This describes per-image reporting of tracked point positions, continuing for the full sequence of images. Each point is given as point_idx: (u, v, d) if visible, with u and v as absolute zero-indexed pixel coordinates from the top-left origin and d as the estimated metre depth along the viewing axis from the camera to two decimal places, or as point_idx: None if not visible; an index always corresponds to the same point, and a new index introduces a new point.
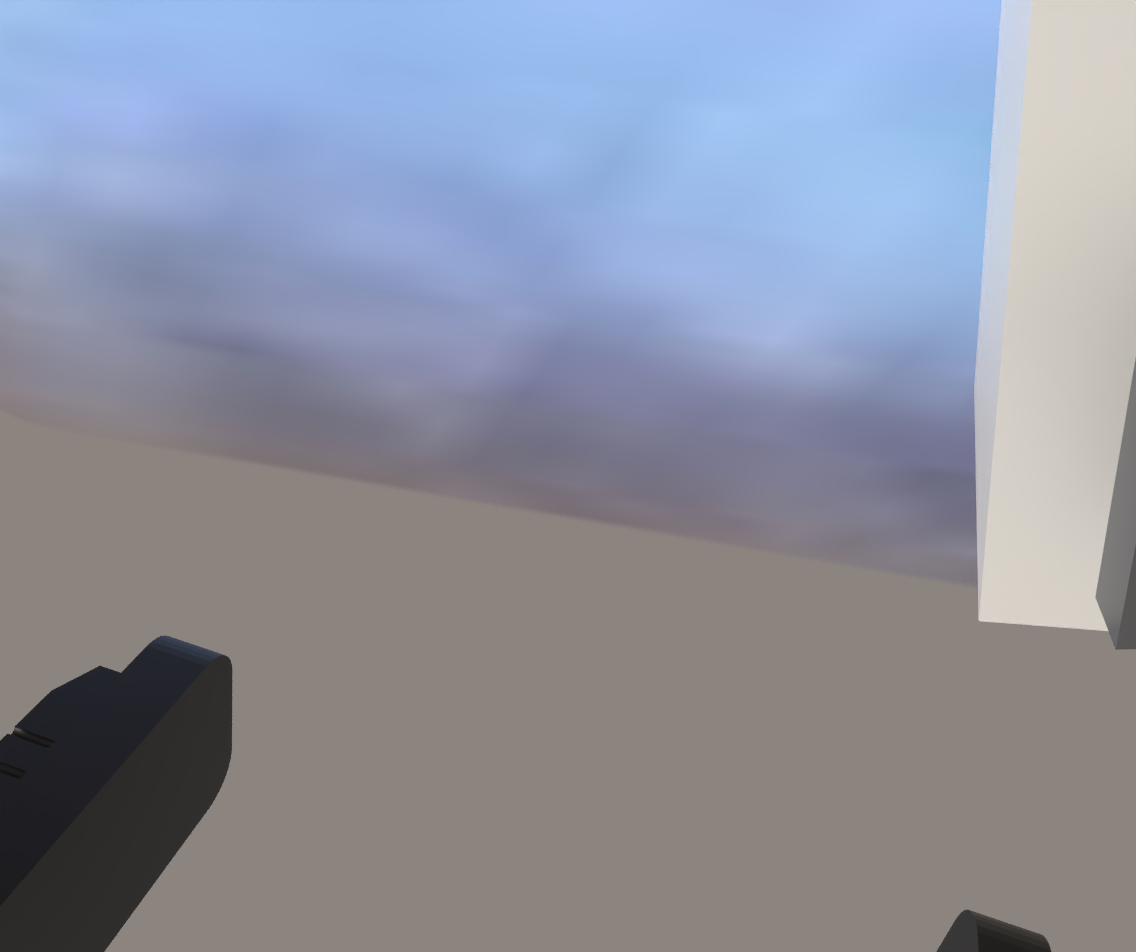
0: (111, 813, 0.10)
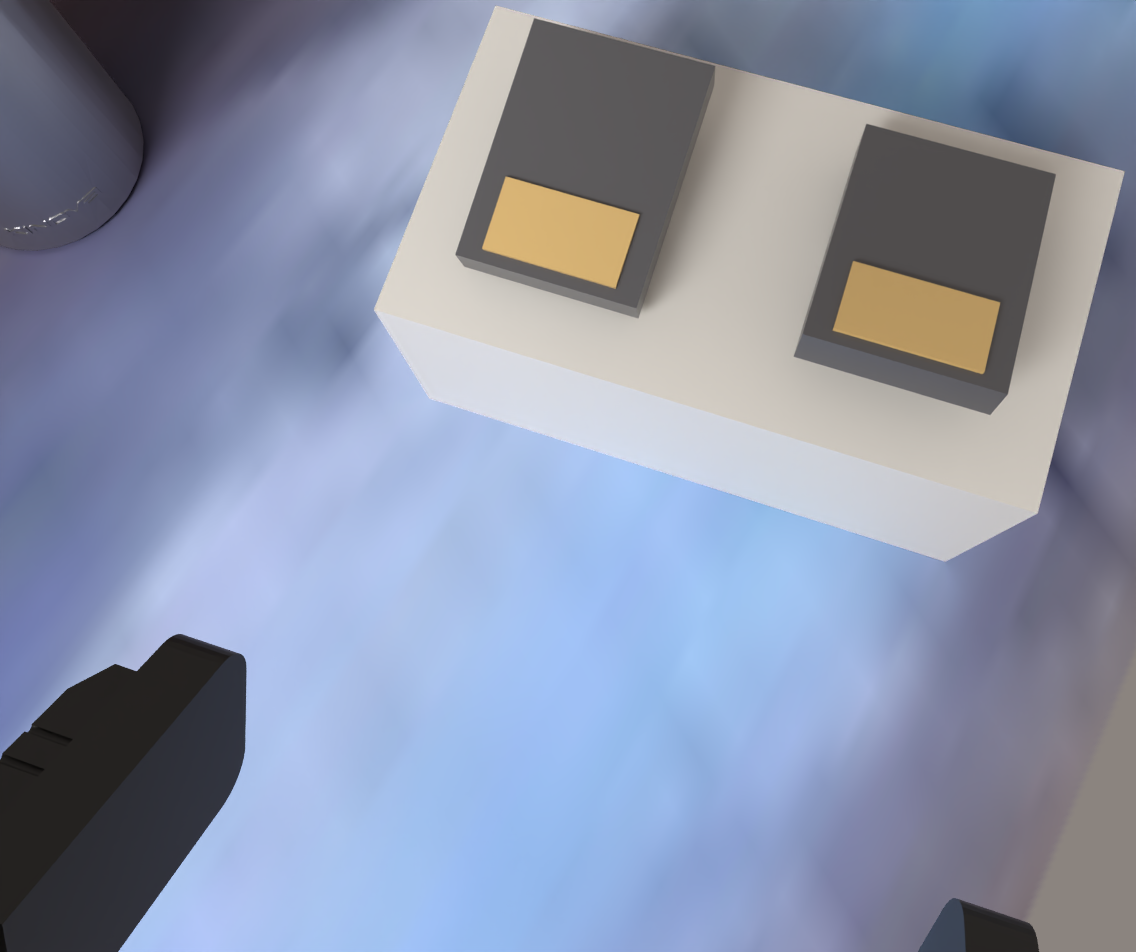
0: (128, 811, 0.10)
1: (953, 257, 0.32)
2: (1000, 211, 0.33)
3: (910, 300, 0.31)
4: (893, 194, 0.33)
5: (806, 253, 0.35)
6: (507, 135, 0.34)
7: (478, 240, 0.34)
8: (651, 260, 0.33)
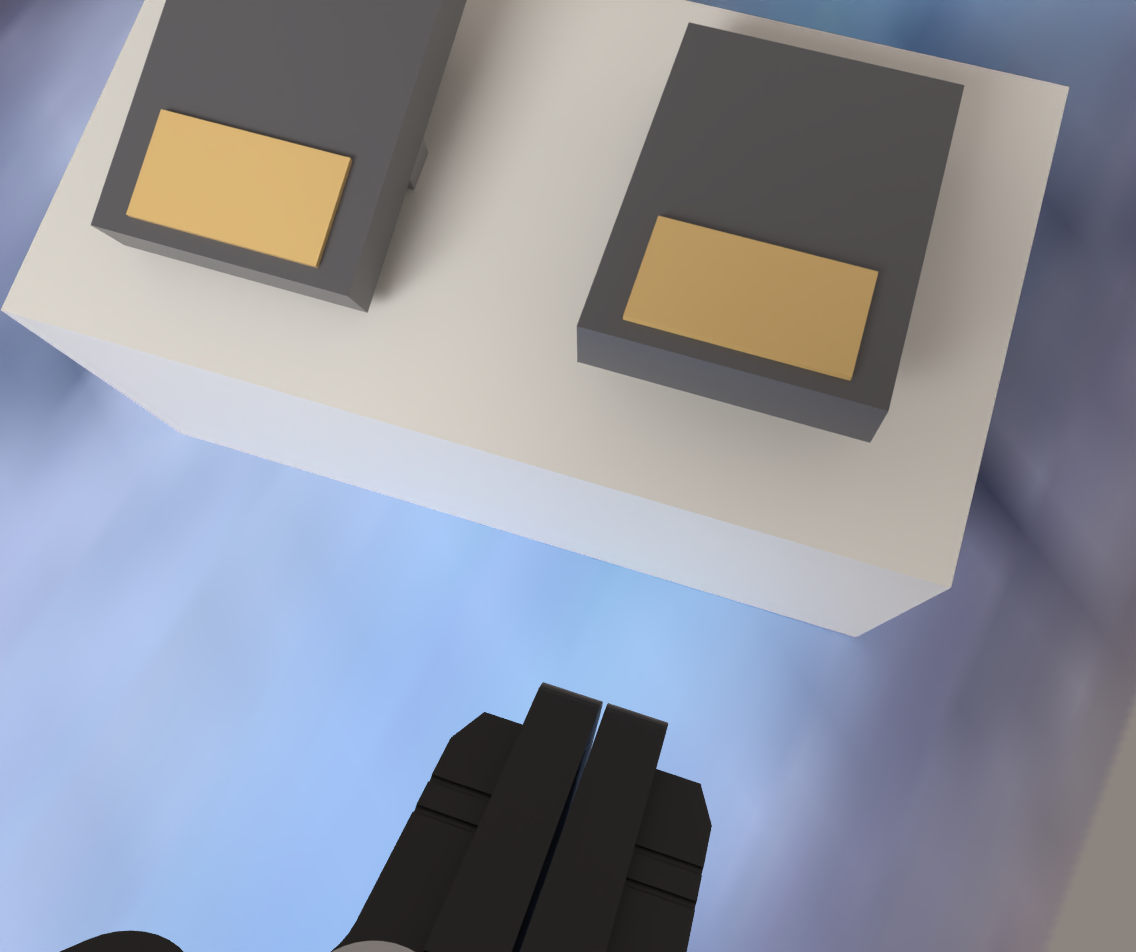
0: (547, 859, 0.10)
1: (810, 207, 0.21)
2: (881, 139, 0.22)
3: (741, 271, 0.21)
4: (723, 120, 0.22)
5: (615, 215, 0.24)
6: (166, 51, 0.23)
7: (123, 203, 0.23)
8: (369, 225, 0.22)
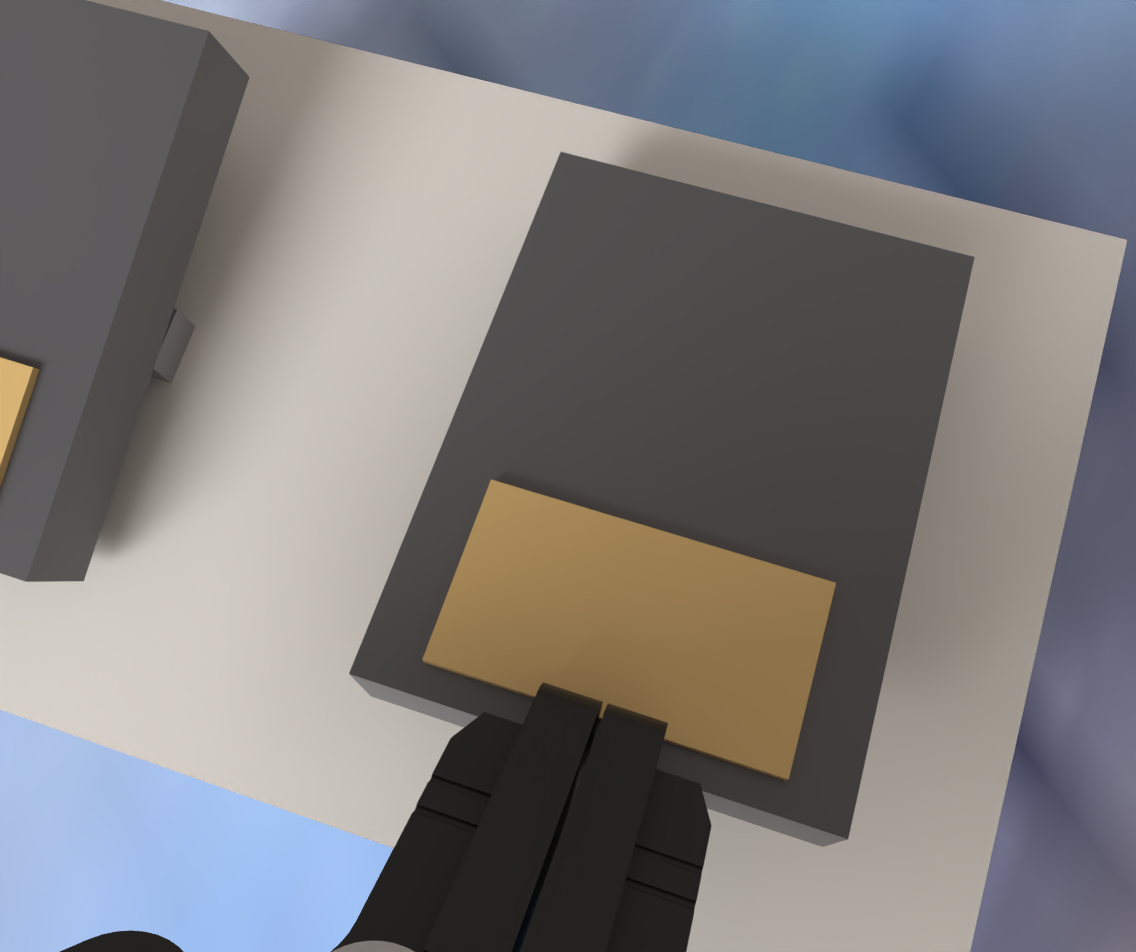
0: (547, 859, 0.10)
1: (731, 463, 0.14)
2: (846, 347, 0.14)
3: (617, 581, 0.13)
4: (604, 312, 0.15)
5: None
6: None
7: None
8: (62, 470, 0.15)
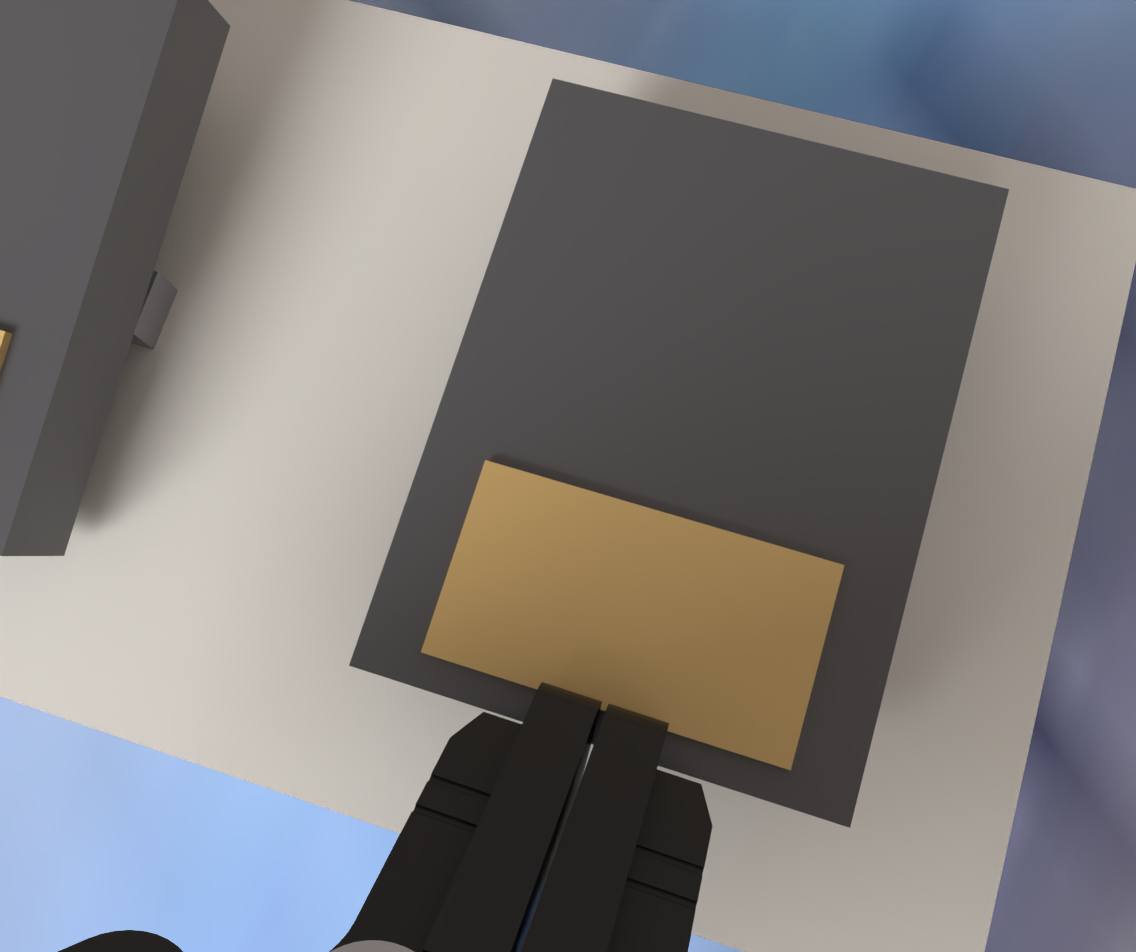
0: (546, 860, 0.10)
1: (737, 435, 0.13)
2: (863, 300, 0.13)
3: (617, 567, 0.13)
4: (602, 267, 0.14)
5: None
6: None
7: None
8: (38, 439, 0.14)
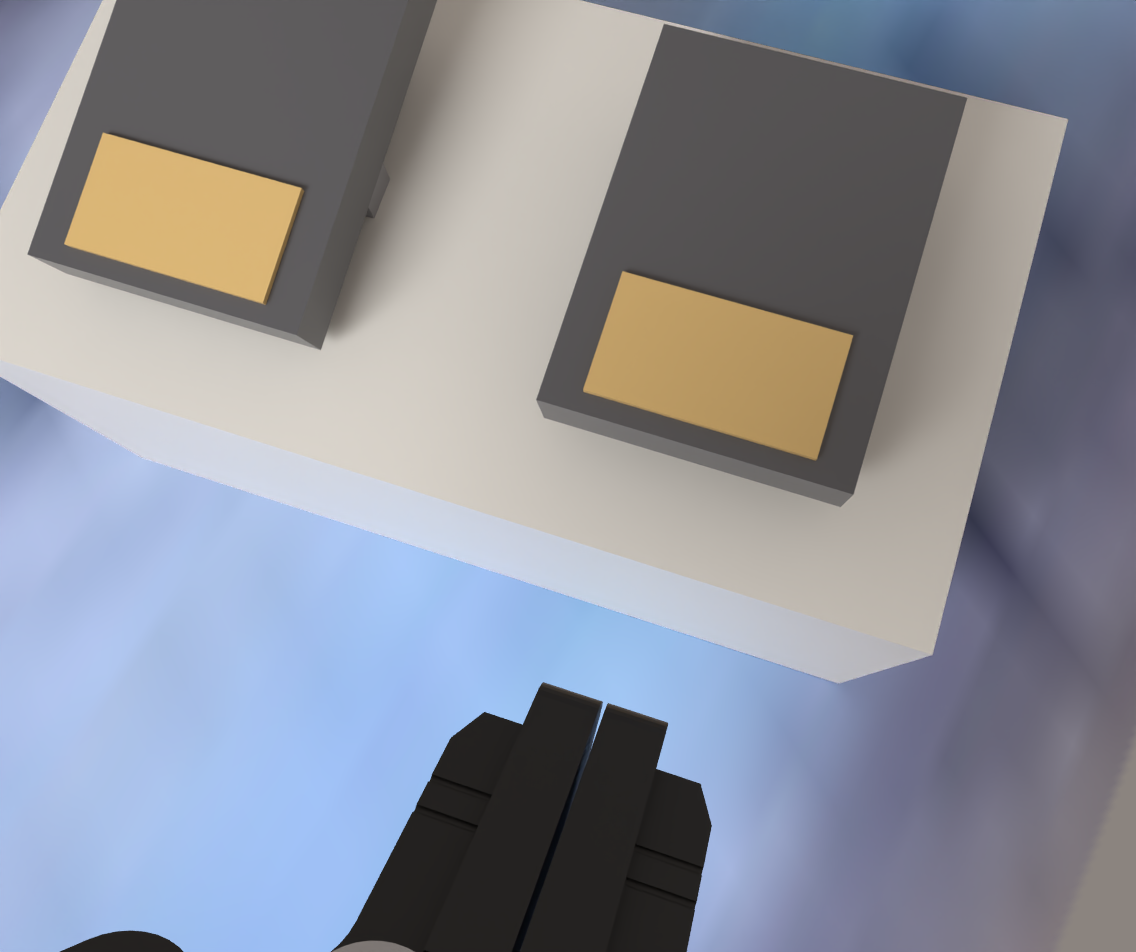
0: (548, 859, 0.10)
1: (785, 256, 0.20)
2: (869, 170, 0.20)
3: (708, 337, 0.20)
4: (697, 148, 0.21)
5: (585, 249, 0.23)
6: (110, 70, 0.22)
7: (62, 231, 0.22)
8: (321, 259, 0.21)
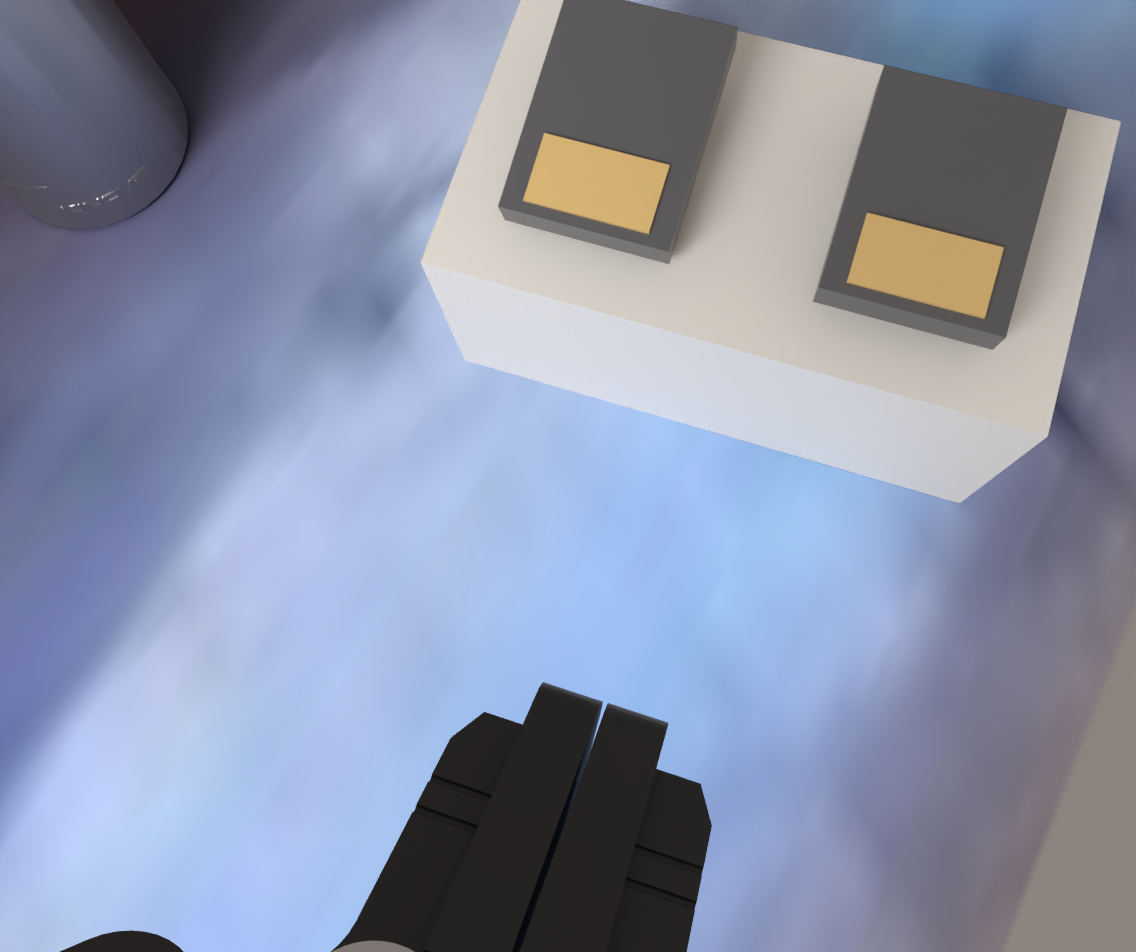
0: (547, 859, 0.10)
1: (962, 202, 0.35)
2: (1010, 151, 0.35)
3: (919, 249, 0.34)
4: (907, 140, 0.35)
5: (825, 203, 0.38)
6: (544, 95, 0.36)
7: (519, 192, 0.36)
8: (681, 207, 0.36)
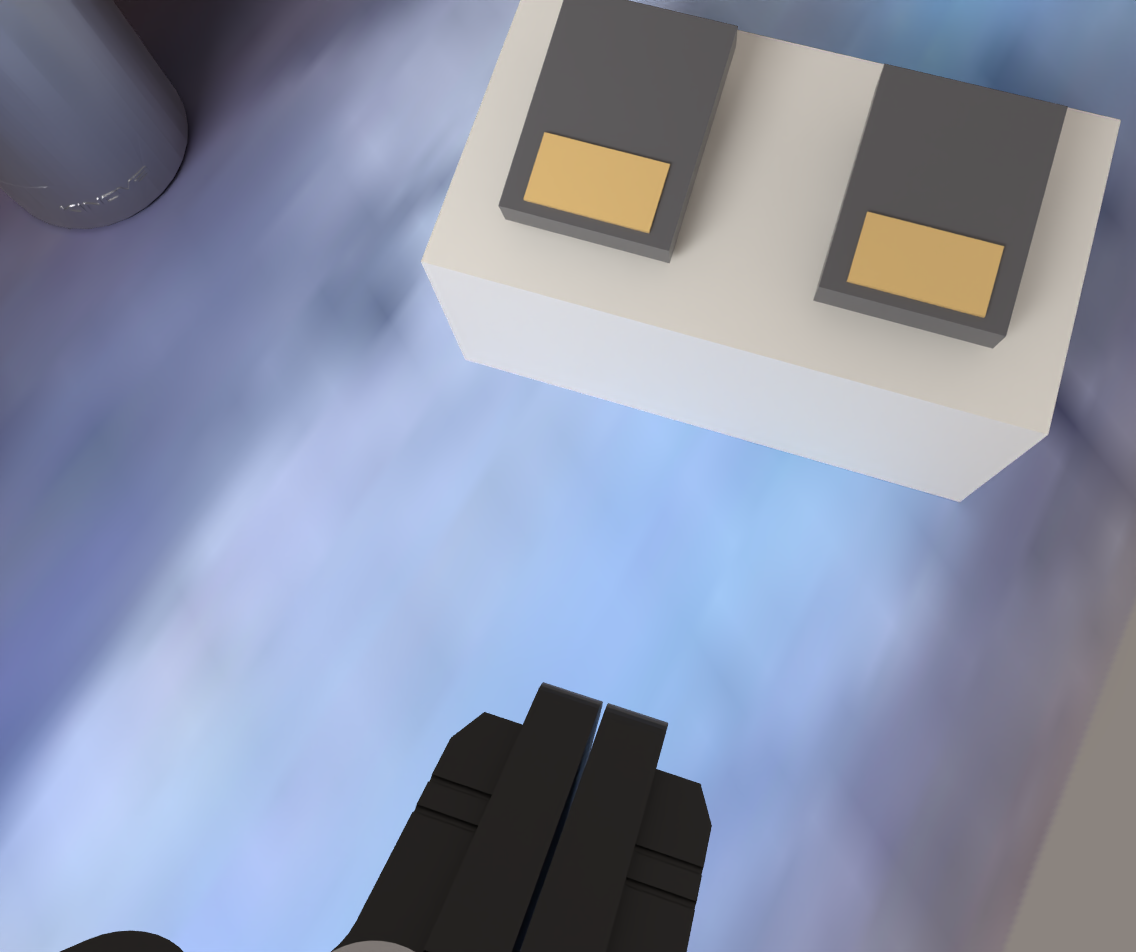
0: (548, 861, 0.10)
1: (962, 201, 0.35)
2: (1010, 150, 0.35)
3: (919, 248, 0.34)
4: (907, 138, 0.35)
5: (825, 202, 0.38)
6: (545, 94, 0.36)
7: (519, 191, 0.36)
8: (682, 206, 0.36)
